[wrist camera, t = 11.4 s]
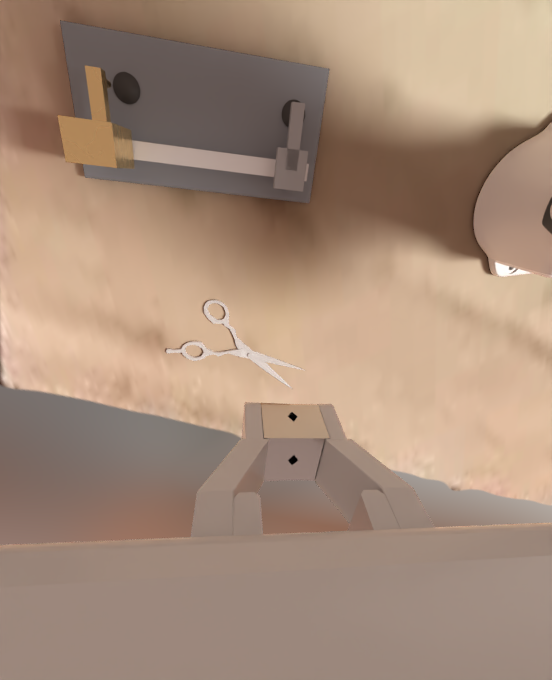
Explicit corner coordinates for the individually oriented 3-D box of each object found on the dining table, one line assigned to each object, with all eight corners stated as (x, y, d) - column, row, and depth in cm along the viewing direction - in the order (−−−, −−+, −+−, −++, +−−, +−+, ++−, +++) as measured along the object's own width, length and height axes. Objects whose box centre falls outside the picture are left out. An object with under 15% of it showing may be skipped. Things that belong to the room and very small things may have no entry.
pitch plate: (326, 71, 31) (337, 58, 27) (307, 202, 36) (314, 205, 33) (65, 25, 27) (40, 3, 24) (89, 177, 33) (70, 177, 29)
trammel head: (130, 80, 28) (104, 59, 23) (137, 168, 31) (116, 168, 26) (83, 73, 28) (45, 49, 22) (96, 163, 31) (65, 161, 26)
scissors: (199, 290, 40) (321, 356, 46) (200, 288, 40) (320, 353, 47) (165, 352, 44) (282, 404, 50) (166, 349, 44) (281, 401, 51)
